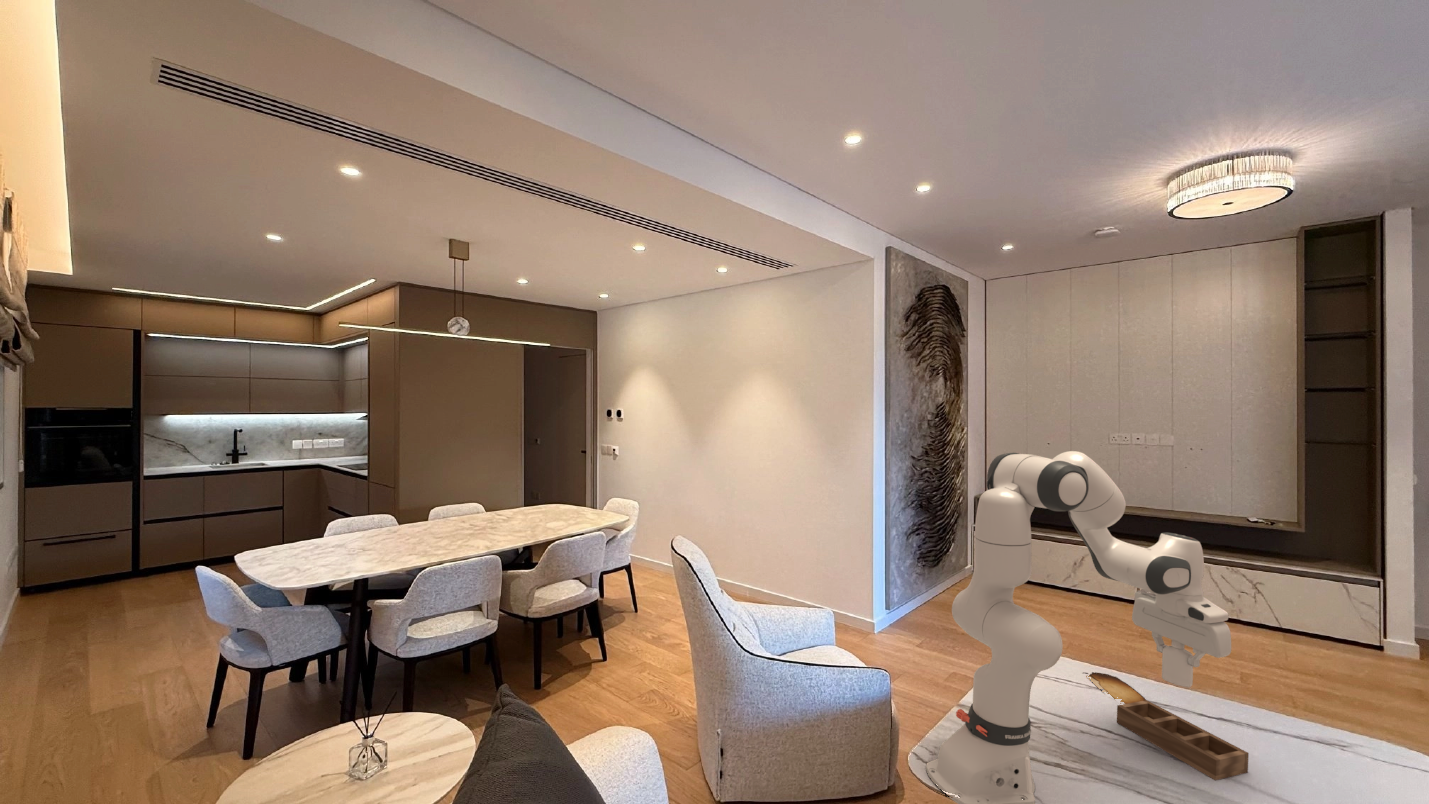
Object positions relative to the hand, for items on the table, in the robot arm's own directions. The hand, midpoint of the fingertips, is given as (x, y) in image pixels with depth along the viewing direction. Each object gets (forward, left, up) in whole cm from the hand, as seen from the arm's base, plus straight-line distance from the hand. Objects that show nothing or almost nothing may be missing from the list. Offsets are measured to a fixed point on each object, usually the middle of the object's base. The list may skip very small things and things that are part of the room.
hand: (1177, 658), depth 137 cm
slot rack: (+3, +1, -22) cm, 23 cm away
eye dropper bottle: (0, 0, -6) cm, 6 cm away
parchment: (+13, +23, -23) cm, 35 cm away
